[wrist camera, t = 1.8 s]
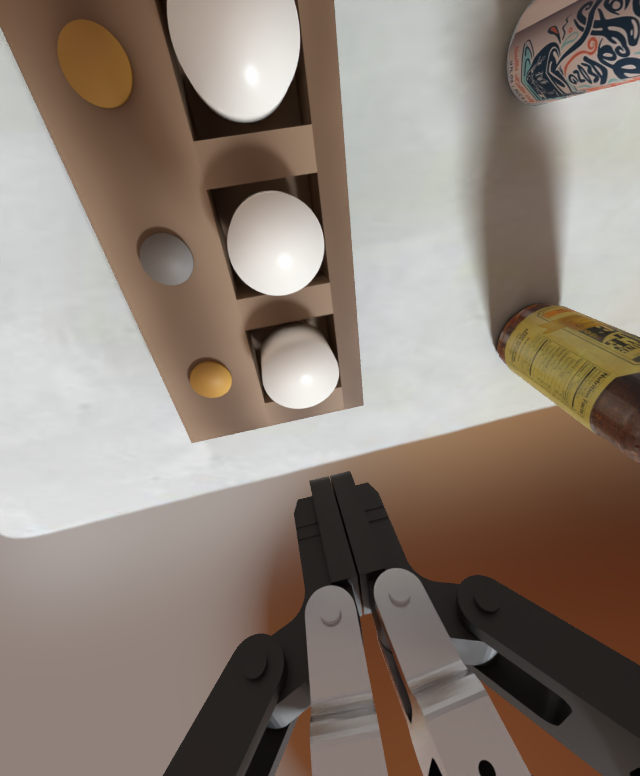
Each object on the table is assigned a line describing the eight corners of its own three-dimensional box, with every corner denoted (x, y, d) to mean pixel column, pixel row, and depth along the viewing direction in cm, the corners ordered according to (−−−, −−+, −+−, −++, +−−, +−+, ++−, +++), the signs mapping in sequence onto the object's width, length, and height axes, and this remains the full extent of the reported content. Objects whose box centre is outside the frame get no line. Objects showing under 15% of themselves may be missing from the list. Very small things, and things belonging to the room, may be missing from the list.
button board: (301, -64, 15) (324, -162, 11) (345, 371, 28) (364, 407, 23) (23, -36, 14) (-77, -132, 10) (200, 401, 27) (191, 446, 22)
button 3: (324, 315, 21) (334, 334, 18) (332, 375, 23) (342, 400, 21) (253, 329, 20) (254, 350, 18) (268, 389, 23) (271, 415, 20)
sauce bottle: (573, 316, 29) (1001, 500, 13) (523, 374, 32) (825, 592, 15) (526, 284, 27) (983, 460, 10) (475, 350, 29) (775, 578, 13)
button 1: (279, -28, 13) (287, -76, 10) (298, 117, 15) (308, 105, 13) (164, -15, 13) (144, -62, 10) (202, 131, 15) (193, 122, 13)
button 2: (307, 183, 17) (317, 184, 14) (318, 272, 19) (329, 286, 17) (219, 197, 16) (214, 201, 14) (242, 286, 19) (241, 303, 16)
